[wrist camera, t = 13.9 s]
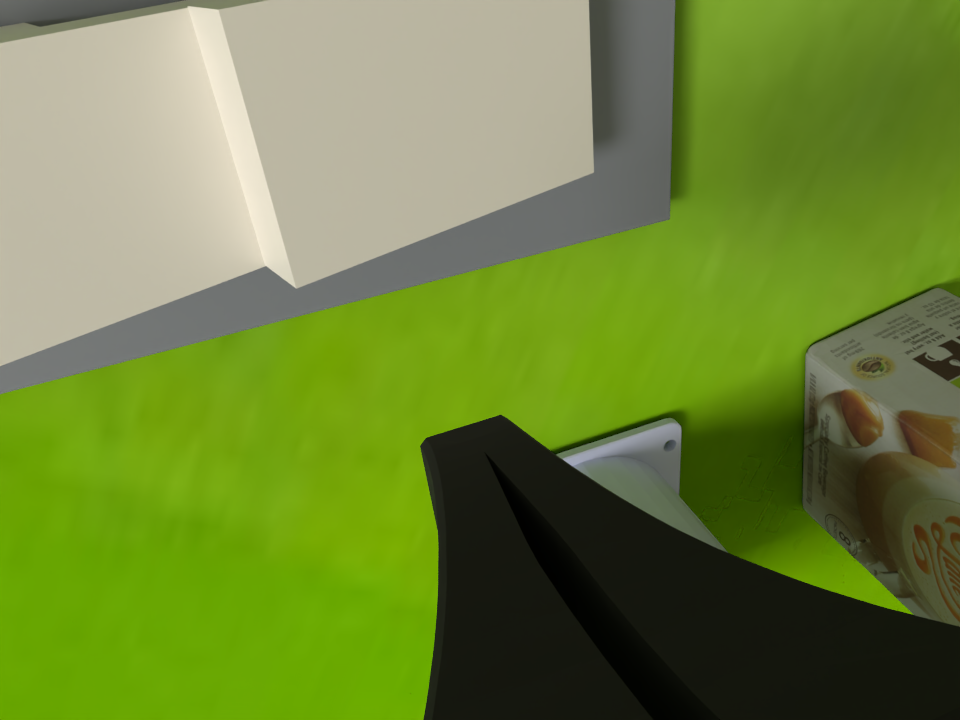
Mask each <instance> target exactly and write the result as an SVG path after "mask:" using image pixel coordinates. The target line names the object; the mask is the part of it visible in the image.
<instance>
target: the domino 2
mask: <svg viewBox="0 0 960 720" xmlns="http://www.w3.org/2000/svg"><path fill="white" fill-rule="evenodd" d="M188 10H189V13H190V16H191V20H192V23H193V26H194V30H195V33H196V37H197V40H198V43H199V47H200V50H201V53H202V57H203V60H204V63H205V67H206V70H207V73H208V77H209V80H210V83H211V87H212V90H213V93H214V97H215V100H216V103H217V107H218V110H219V113H220V117H221V120H222V123H223V127H224V130H225V133H226V137H227V140H228V143H229V147H230V150H231V153H232V157H233V160H234V163H235V167H236V170H237V173H238V177H239V180H240V183H241V187H242V190H243V193H244V197H245V200H246V203H247V207H248V210H249V213H250V217H251V220H252V223H253V227H254V230H255V233H256V237H257V240H258V243H259V247H260V250H261V254H262V257H263V260H264V264H265V266H267V267H268V268H269V269H271V270H272V271H273V272H275V273H276V274H277V275H279V276H280V277H281V278H283V279H284V280H285V281H287V282H288V283H289V284H291V285H292V286H293V287H295V288H296V289H297V288H299V287H302V286H305V285H307V284H310V283H312V282H315V281H317V280H320V279H323V278H325V277H328V276H330V275H333V274H335V273H338V272H340V271H343V270H346V269H348V268H351V267H353V266H356V265H358V264H361V263H364V262H366V261H369V260H371V259H374V258H376V257H379V256H381V255H384V254H387V253H389V252H392V251H394V250H397V249H399V248H402V247H405V246H407V245H410V244H412V243H415V242H417V241H420V240H422V239H425V238H428V237H430V236H433V235H435V234H438V233H440V232H443V231H446V230H448V229H451V228H453V227H456V226H458V225H461V224H464V223H466V222H469V221H471V220H474V219H476V218H479V217H481V216H484V215H487V214H489V213H492V212H494V211H497V210H499V209H502V208H505V207H507V206H510V205H512V204H515V203H517V202H520V201H522V200H525V199H528V198H530V197H533V196H535V195H538V194H540V193H543V192H546V191H548V190H551V189H553V188H556V187H558V186H561V185H563V184H566V183H569V182H571V181H574V180H576V179H579V178H581V177H584V176H587V175H589V174H592V173H594V158H593V124H592V90H591V57H590V23H589V0H217V1H212V2H207V3H201V4H196V5H190V6H188Z"/></svg>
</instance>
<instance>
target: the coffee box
mask: <svg viewBox="0 0 960 720" xmlns="http://www.w3.org/2000/svg"><path fill="white" fill-rule="evenodd" d="M803 509H804V510H805V511H806V512H807V513H808V514H809V515H810V516H811V517H812V518H813V519H814V520H815V521H816V522H818V523H819V524H820V525H821V526H822V527H823V528H824V529H825V530H826V531H827V532H828V533H829V534H830V535H831V536H832V537H833V538H834V539H835V540H836V541H837V542H838V543H839V544H841V545H842V546H843V547H844V548H845V549H846V550H847V551H848V552H849V553H850V554H851V555H852V556H853V557H854V558H855V559H856V560H857V561H859V562H860V563H861V564H862V565H863V566H864V567H865V568H866V569H867V570H868V571H869V572H870V573H871V574H872V575H873V576H874V577H875V578H876V579H877V580H879V581H880V582H881V583H882V584H883V585H884V586H885V587H886V588H887V589H888V590H889V591H890V592H891V593H892V594H893V595H894V596H895V597H896V598H897V599H898V600H899V601H900V602H901V603H902V604H903V605H904V606H905V607H907V608H908V609H909V610H910V611H911V612H912V613H913V614H914V615H915V616H919V617H923V618H927V619H931V620H935V621H939V622H943V623H947V624H951V625H955V626H959V627H960V298H959V297H957V296H955V295H953V294H952V293H950V292H947V291H945V290H943V289H940V288H935V289H932V290H930V291H928V292H926V293H924V294H921V295H919V296H917V297H915V298H913V299H911V300H908V301H906V302H904V303H902V304H900V305H897V306H895V307H893V308H891V309H889V310H887V311H885V312H883V313H880V314H878V315H876V316H874V317H872V318H870V319H868V320H865V321H863V322H861V323H859V324H857V325H855V326H852V327H850V328H848V329H846V330H844V331H842V332H839V333H837V334H835V335H833V336H831V337H828V338H826V339H824V340H822V341H820V342H817V343H815V344H813V345H812V346H811V347H810V348H809V349H808V351H807V353H806V361H805V411H804V458H803Z"/></svg>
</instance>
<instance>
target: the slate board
mask: <svg viewBox="0 0 960 720" xmlns="http://www.w3.org/2000/svg"><path fill="white" fill-rule="evenodd" d="M179 1H184V0H0V27H2V26H8V25H13V24H19V23H28V24H31V25H35V26H39V27H42V26H48V25H53V24H59V23H64V22H70V21H75V20H81V19H86V18H91V17H97V16H102V15H108V14H113V13H119V12H124V11H130V10H135V9H140V8H146V7H151V6H157V5H162V4H168V3H173V2H179ZM589 23H590V57H591V90H592V124H593V158H594V173H592V174H589V175H587V176H584V177H581V178H579V179H576V180H574V181H571V182H569V183H566V184H563V185H561V186H558V187H556V188H553V189H551V190H548V191H546V192H543V193H540V194H538V195H535V196H533V197H530V198H528V199H525V200H522V201H520V202H517V203H515V204H512V205H510V206H507V207H505V208H502V209H499V210H497V211H494V212H492V213H489V214H487V215H484V216H481V217H479V218H476V219H474V220H471V221H469V222H466V223H464V224H461V225H458V226H456V227H453V228H451V229H448V230H446V231H443V232H440V233H438V234H435V235H433V236H430V237H428V238H425V239H422V240H420V241H417V242H415V243H412V244H410V245H407V246H405V247H402V248H399V249H397V250H394V251H392V252H389V253H387V254H384V255H381V256H379V257H376V258H374V259H371V260H369V261H366V262H364V263H361V264H358V265H356V266H353V267H351V268H348V269H346V270H343V271H340V272H338V273H335V274H333V275H330V276H328V277H325V278H323V279H320V280H317V281H315V282H312V283H310V284H307V285H305V286H302V287H299V288H297V289H296V288H295V287H293V286H292V285H291V284H289V283H288V282H287V281H285V280H284V279H283V278H281V277H280V276H279V275H277V274H276V273H275V272H273V271H272V270H271V269H269V268H268V267H267V266H265V267H262V268H260V269H257V270H254V271H252V272H249V273H246V274H244V275H241V276H238V277H236V278H233V279H230V280H228V281H225V282H222V283H220V284H217V285H215V286H212V287H209V288H207V289H204V290H201V291H199V292H196V293H193V294H191V295H188V296H185V297H183V298H180V299H177V300H175V301H172V302H169V303H167V304H164V305H161V306H159V307H156V308H153V309H151V310H148V311H145V312H143V313H140V314H137V315H135V316H132V317H129V318H127V319H124V320H121V321H119V322H116V323H114V324H111V325H108V326H106V327H103V328H100V329H98V330H95V331H92V332H90V333H87V334H84V335H82V336H79V337H76V338H74V339H71V340H68V341H66V342H63V343H60V344H58V345H55V346H52V347H50V348H47V349H44V350H42V351H39V352H36V353H34V354H31V355H28V356H26V357H23V358H21V359H18V360H15V361H13V362H10V363H7V364H5V365H2V366H0V394H2V393H6V392H9V391H13V390H17V389H21V388H25V387H29V386H32V385H36V384H40V383H44V382H48V381H52V380H55V379H59V378H63V377H67V376H71V375H75V374H78V373H82V372H86V371H90V370H94V369H98V368H101V367H105V366H109V365H113V364H117V363H121V362H124V361H128V360H132V359H136V358H140V357H144V356H147V355H151V354H155V353H159V352H163V351H167V350H170V349H174V348H178V347H182V346H186V345H190V344H193V343H197V342H201V341H205V340H209V339H213V338H216V337H220V336H224V335H228V334H232V333H236V332H239V331H243V330H247V329H251V328H255V327H259V326H262V325H266V324H270V323H274V322H278V321H282V320H285V319H289V318H293V317H297V316H301V315H305V314H308V313H312V312H316V311H320V310H324V309H328V308H331V307H335V306H339V305H343V304H347V303H351V302H354V301H358V300H362V299H366V298H370V297H374V296H377V295H381V294H385V293H389V292H393V291H397V290H400V289H404V288H408V287H412V286H416V285H420V284H423V283H427V282H431V281H435V280H439V279H443V278H446V277H450V276H454V275H458V274H462V273H466V272H469V271H473V270H477V269H481V268H485V267H489V266H492V265H496V264H500V263H504V262H508V261H512V260H516V259H519V258H523V257H527V256H531V255H535V254H539V253H542V252H546V251H550V250H554V249H558V248H562V247H565V246H569V245H573V244H577V243H581V242H585V241H588V240H592V239H596V238H600V237H604V236H608V235H611V234H615V233H619V232H623V231H627V230H631V229H634V228H638V227H642V226H646V225H650V224H654V223H657V222H661V221H665V220H669V219H670V187H671V147H672V108H673V69H674V29H675V0H589Z"/></svg>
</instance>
